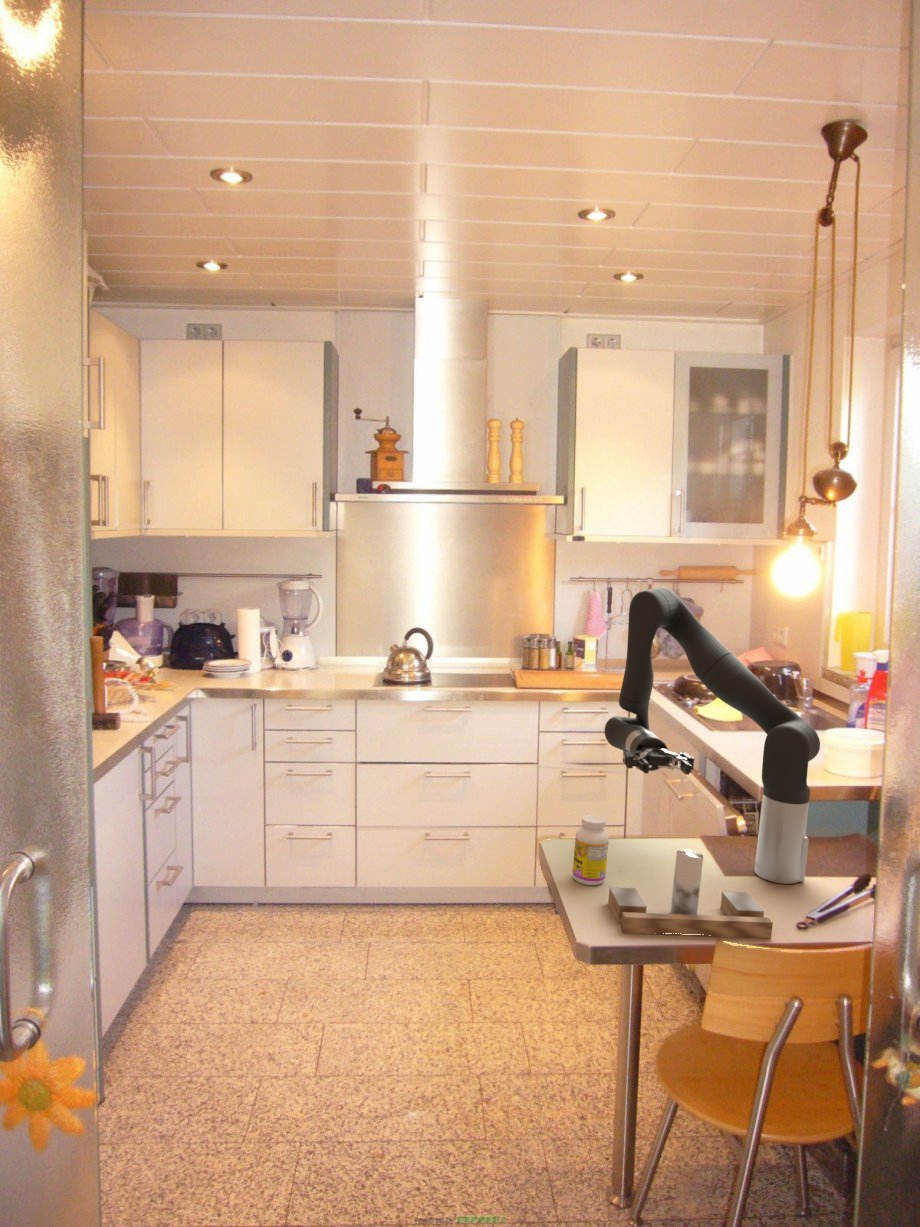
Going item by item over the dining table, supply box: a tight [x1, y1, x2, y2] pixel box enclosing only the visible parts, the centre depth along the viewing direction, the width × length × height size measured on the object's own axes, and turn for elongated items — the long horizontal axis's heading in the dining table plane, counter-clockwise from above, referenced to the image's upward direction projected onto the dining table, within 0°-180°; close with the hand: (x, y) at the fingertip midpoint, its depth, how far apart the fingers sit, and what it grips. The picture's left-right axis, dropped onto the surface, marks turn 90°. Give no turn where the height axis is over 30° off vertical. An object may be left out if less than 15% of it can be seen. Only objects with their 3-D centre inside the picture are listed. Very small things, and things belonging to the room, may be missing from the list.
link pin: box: [670, 848, 704, 915], centre depth 168 cm, size 5×5×12 cm
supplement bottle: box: [572, 814, 610, 886], centre depth 181 cm, size 7×7×13 cm
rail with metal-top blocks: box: [607, 886, 774, 939], centre depth 166 cm, size 27×12×3 cm, turn 94°
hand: (667, 769), depth 183 cm, fingers open, 8 cm apart
